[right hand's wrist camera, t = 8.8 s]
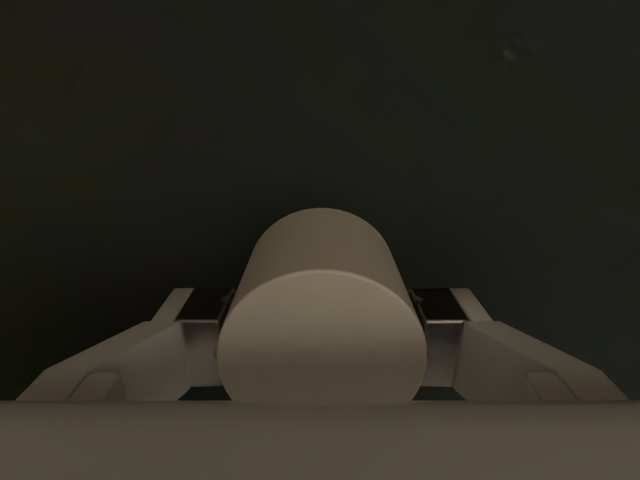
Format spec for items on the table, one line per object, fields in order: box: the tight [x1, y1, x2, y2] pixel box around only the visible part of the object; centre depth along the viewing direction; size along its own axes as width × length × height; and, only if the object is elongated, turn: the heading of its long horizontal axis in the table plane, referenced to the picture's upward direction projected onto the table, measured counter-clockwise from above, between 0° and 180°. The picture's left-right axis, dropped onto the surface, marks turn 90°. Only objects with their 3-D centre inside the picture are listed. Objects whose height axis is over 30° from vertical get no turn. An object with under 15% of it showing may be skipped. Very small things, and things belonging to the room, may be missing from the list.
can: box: [216, 208, 427, 401], centre depth 10 cm, size 4×4×4 cm
